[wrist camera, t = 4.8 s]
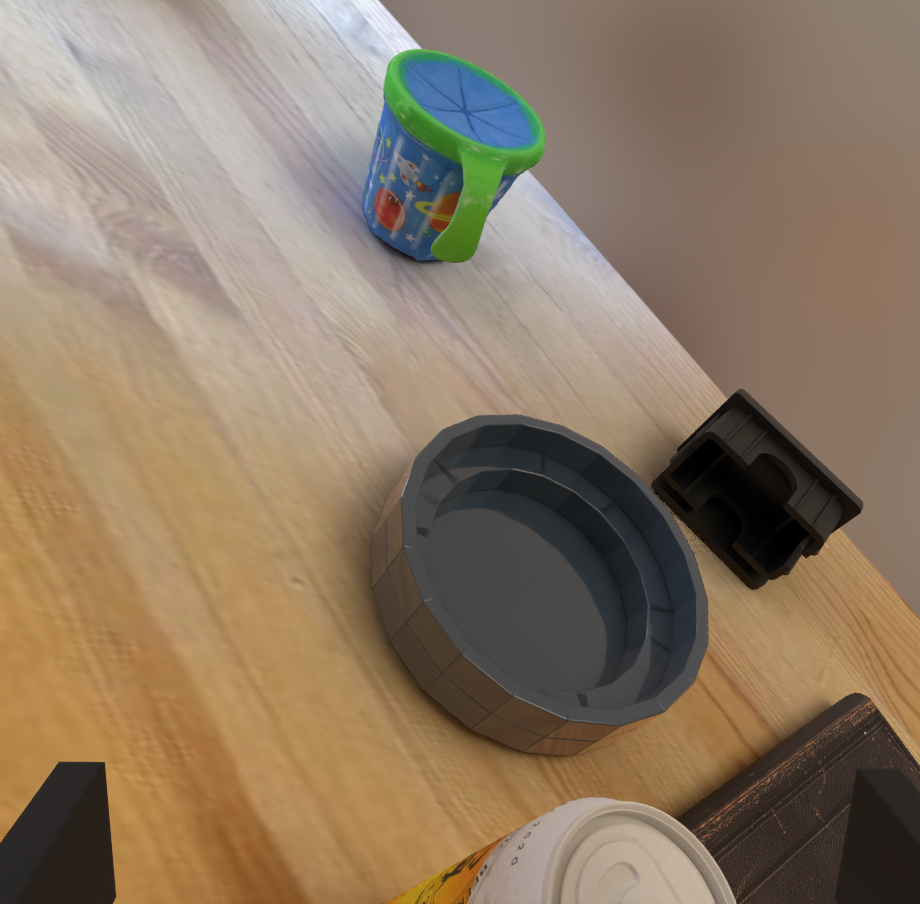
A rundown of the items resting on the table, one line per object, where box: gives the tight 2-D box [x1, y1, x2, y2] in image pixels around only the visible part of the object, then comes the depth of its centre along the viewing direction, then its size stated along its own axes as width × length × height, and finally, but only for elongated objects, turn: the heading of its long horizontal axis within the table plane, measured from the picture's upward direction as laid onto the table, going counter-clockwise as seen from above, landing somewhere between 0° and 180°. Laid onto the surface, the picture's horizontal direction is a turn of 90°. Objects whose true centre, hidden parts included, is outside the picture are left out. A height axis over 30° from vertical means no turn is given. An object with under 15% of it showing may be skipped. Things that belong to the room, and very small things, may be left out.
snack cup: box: [362, 49, 546, 263], centre depth 53 cm, size 16×10×10 cm
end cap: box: [652, 389, 863, 589], centre depth 50 cm, size 10×7×7 cm
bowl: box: [371, 414, 708, 756], centre depth 40 cm, size 16×16×4 cm
